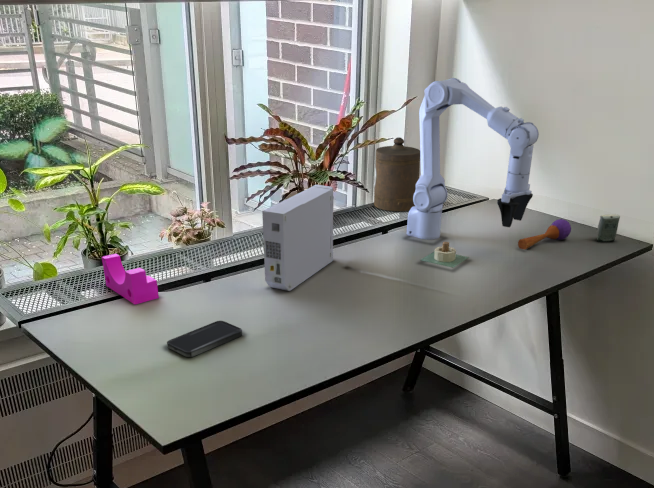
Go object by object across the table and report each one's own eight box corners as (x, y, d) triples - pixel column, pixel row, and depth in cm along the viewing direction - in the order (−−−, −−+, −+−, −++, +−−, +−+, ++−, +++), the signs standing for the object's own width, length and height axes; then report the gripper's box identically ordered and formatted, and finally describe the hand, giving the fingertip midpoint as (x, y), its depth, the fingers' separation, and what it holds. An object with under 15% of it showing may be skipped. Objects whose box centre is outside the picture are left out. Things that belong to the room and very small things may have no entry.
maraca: (513, 233, 209) (558, 216, 219) (515, 253, 211) (559, 235, 221) (530, 235, 204) (574, 217, 214) (531, 255, 207) (575, 237, 217)
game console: (335, 260, 199) (335, 187, 189) (286, 294, 177) (284, 214, 167) (316, 257, 201) (315, 184, 191) (265, 290, 179) (262, 210, 169)
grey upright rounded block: (606, 245, 214) (611, 218, 210) (591, 240, 217) (596, 214, 213) (617, 241, 217) (622, 214, 213) (602, 236, 220) (607, 210, 216)
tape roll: (430, 259, 198) (431, 250, 197) (440, 253, 202) (440, 244, 201) (449, 263, 195) (450, 254, 194) (458, 257, 199) (459, 248, 198)
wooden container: (394, 197, 255) (397, 131, 244) (426, 206, 246) (431, 138, 235) (364, 205, 246) (366, 137, 235) (397, 214, 237) (400, 144, 226)
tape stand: (419, 263, 198) (420, 244, 195) (436, 253, 205) (437, 234, 202) (452, 271, 193) (454, 251, 190) (468, 260, 200) (470, 241, 198)
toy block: (158, 298, 174) (155, 268, 171) (134, 304, 171) (130, 274, 167) (129, 279, 184) (125, 251, 180) (106, 285, 180) (101, 256, 177)
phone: (244, 329, 157) (188, 353, 147) (244, 334, 157) (189, 358, 147) (219, 319, 161) (164, 341, 151) (220, 324, 162) (164, 346, 152)
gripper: (522, 180, 184) (515, 232, 191) (543, 169, 194) (535, 219, 201) (496, 175, 187) (490, 227, 194) (518, 165, 198) (511, 214, 204)
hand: (511, 223), depth 198 cm, fingers open, 7 cm apart
